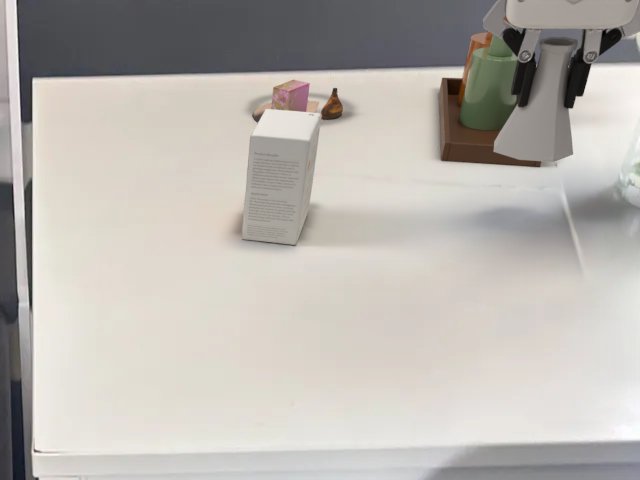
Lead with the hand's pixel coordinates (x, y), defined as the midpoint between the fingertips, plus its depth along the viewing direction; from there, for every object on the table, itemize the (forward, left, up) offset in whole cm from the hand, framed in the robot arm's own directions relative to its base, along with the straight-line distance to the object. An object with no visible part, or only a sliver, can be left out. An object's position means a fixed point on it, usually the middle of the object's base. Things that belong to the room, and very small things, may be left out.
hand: (544, 101), depth 88 cm
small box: (+23, +7, -12) cm, 26 cm away
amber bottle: (+2, -34, -11) cm, 36 cm away
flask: (0, 0, -5) cm, 5 cm away
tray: (+2, -26, -11) cm, 28 cm away
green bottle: (+2, -27, -11) cm, 29 cm away
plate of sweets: (+24, -28, -12) cm, 38 cm away
